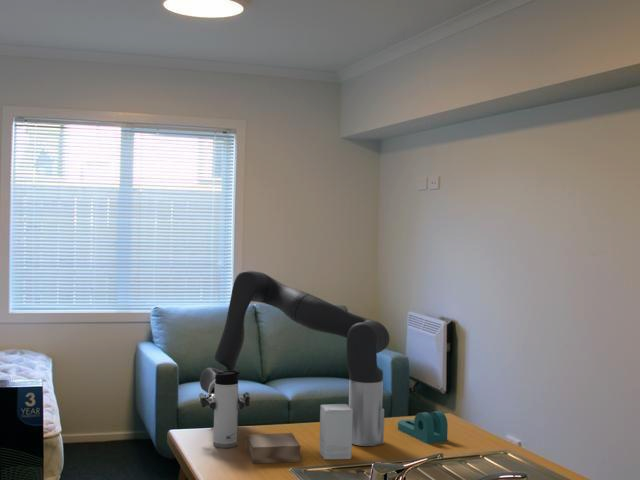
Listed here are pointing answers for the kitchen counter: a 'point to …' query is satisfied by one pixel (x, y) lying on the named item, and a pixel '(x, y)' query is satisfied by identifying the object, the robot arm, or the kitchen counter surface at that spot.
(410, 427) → the bracket
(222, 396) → the travel mug
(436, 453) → the kitchen counter surface
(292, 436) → the walnut plinth
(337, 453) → the supplement box
